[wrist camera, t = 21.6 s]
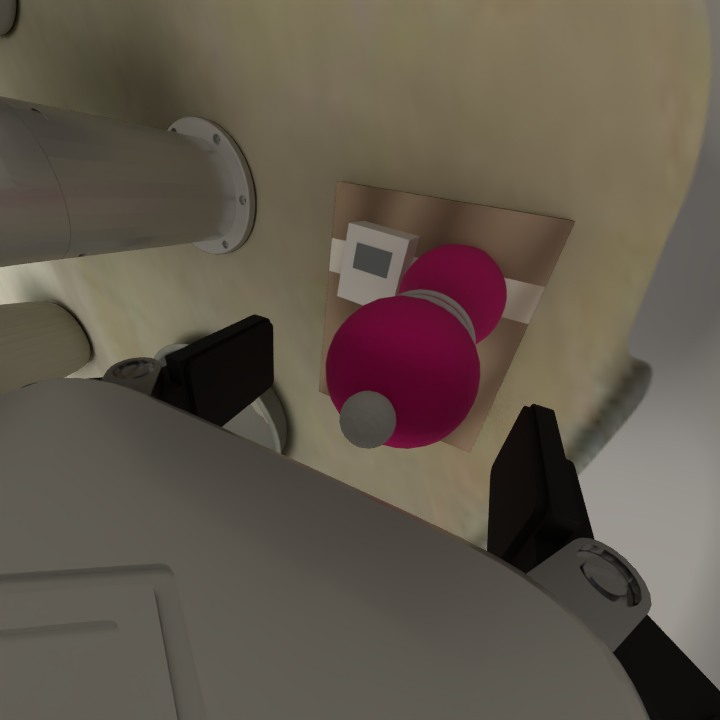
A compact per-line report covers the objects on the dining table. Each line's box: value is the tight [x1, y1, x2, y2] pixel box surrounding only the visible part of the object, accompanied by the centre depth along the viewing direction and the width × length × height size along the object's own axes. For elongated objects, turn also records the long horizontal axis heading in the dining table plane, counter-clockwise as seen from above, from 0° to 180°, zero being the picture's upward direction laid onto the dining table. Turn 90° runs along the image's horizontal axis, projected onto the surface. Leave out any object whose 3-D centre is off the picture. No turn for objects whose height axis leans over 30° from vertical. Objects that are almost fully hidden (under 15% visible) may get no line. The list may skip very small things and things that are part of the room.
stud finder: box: [337, 221, 420, 305], centre depth 26 cm, size 5×6×3 cm
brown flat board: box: [319, 181, 575, 453], centre depth 29 cm, size 18×22×2 cm
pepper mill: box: [326, 244, 507, 449], centre depth 17 cm, size 7×7×20 cm
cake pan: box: [154, 343, 287, 454], centre depth 47 cm, size 25×25×4 cm
